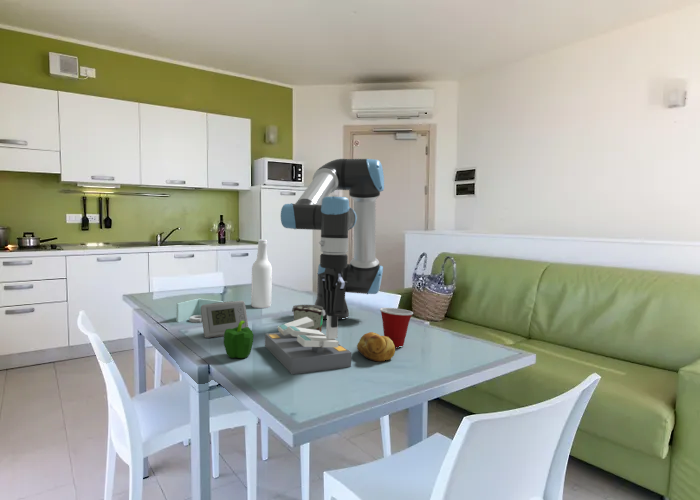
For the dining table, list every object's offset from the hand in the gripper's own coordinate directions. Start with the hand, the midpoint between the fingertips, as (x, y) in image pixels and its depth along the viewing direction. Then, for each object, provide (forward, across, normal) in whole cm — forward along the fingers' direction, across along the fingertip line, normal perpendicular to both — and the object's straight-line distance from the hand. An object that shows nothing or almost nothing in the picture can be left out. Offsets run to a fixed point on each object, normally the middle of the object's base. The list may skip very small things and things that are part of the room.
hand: (331, 337), depth 120 cm
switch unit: (+7, -9, -4) cm, 13 cm away
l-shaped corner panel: (+8, -62, -26) cm, 68 cm away
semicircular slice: (+8, -30, +6) cm, 32 cm away
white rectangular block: (+1, 0, -4) cm, 4 cm away
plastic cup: (+8, -9, +27) cm, 29 cm away
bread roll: (+8, -2, +15) cm, 17 cm away
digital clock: (+7, -41, -21) cm, 46 cm away
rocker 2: (+1, -9, -4) cm, 10 cm away
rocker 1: (+1, -18, -4) cm, 19 cm away
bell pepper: (+7, -15, -22) cm, 28 cm away
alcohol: (+7, -81, +2) cm, 82 cm away
